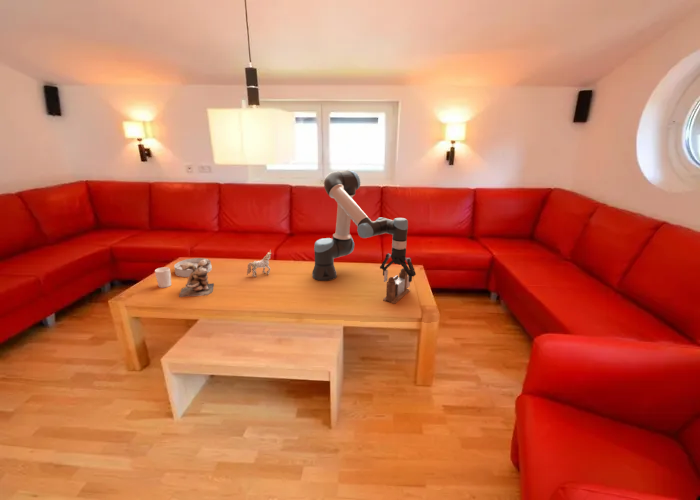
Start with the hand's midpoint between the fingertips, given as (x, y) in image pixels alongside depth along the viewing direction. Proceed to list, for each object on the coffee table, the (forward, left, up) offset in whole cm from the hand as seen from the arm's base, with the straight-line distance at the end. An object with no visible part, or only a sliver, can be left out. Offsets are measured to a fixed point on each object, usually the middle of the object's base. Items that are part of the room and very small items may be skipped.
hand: (396, 284), depth 197 cm
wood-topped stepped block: (0, 0, -6) cm, 6 cm away
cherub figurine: (-98, -55, -7) cm, 113 cm away
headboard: (0, 0, -7) cm, 7 cm away
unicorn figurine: (-87, -17, -7) cm, 89 cm away
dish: (-127, -37, -7) cm, 132 cm away
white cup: (-120, -61, -7) cm, 134 cm away
